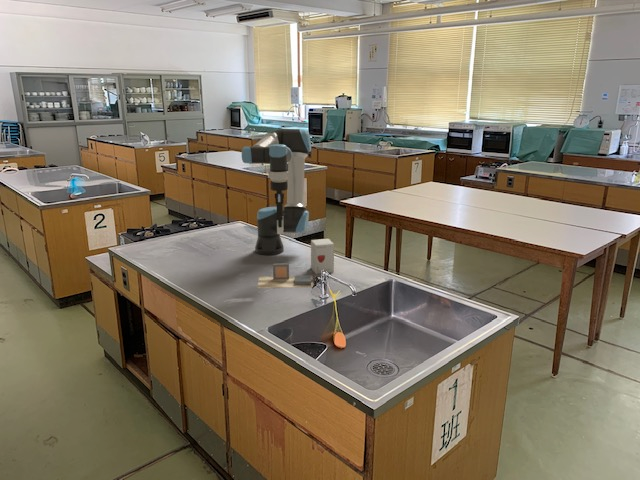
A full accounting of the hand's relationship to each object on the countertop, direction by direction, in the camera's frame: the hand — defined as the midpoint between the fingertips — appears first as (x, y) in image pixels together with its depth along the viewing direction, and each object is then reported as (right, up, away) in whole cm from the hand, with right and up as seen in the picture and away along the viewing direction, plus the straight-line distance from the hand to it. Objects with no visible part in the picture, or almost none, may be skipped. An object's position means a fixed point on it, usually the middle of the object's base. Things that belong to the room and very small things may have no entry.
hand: (280, 231), depth 220 cm
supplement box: (+19, -19, +10) cm, 29 cm away
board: (+3, -23, -4) cm, 24 cm away
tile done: (+10, -22, -5) cm, 25 cm away
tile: (0, -21, -1) cm, 21 cm away
